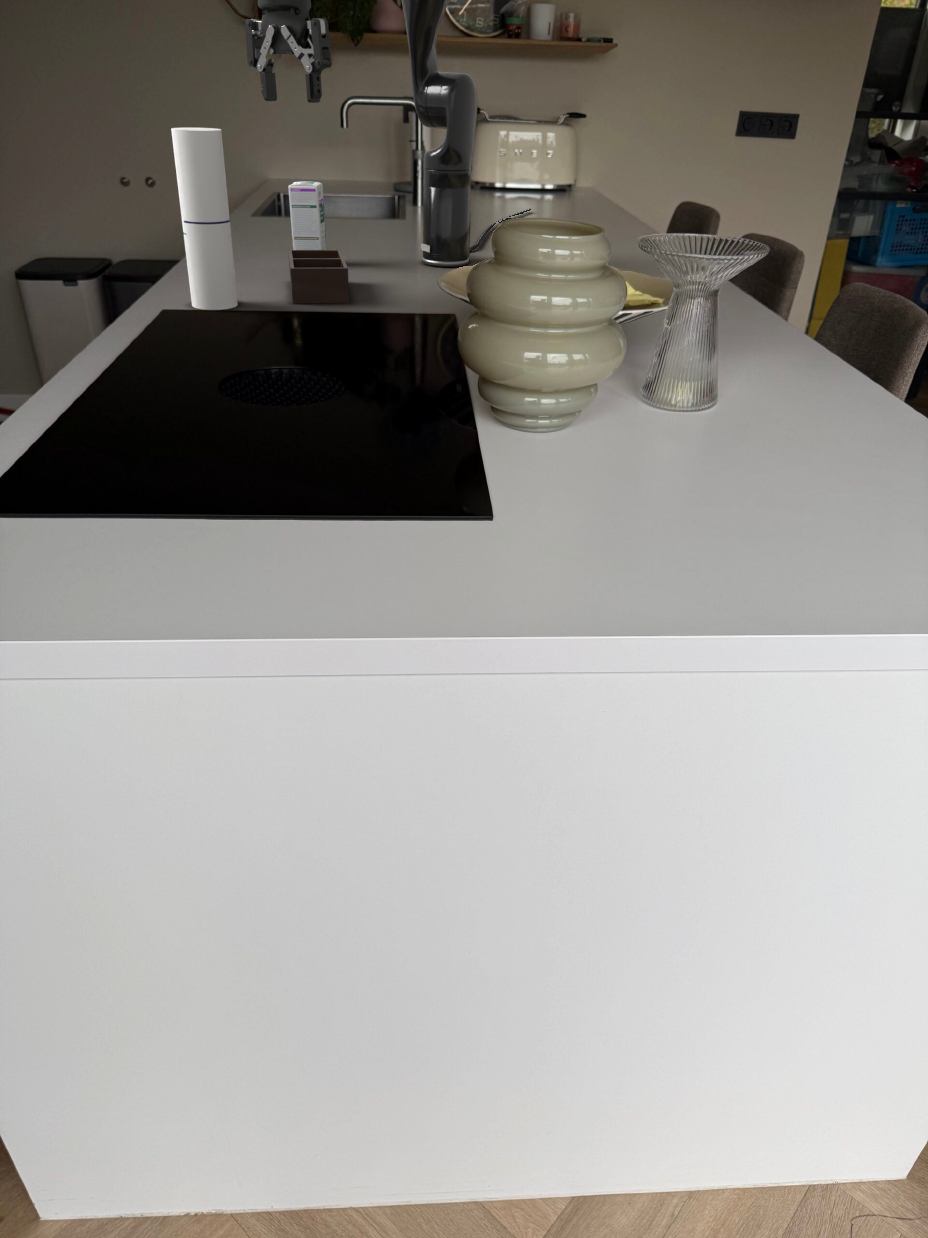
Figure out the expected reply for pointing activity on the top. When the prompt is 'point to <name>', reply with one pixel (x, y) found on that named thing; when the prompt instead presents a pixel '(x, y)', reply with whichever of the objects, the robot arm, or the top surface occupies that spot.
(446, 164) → the robot arm
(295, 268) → the compartment organizer box
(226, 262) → the cylindrical container
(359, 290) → the top surface
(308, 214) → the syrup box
